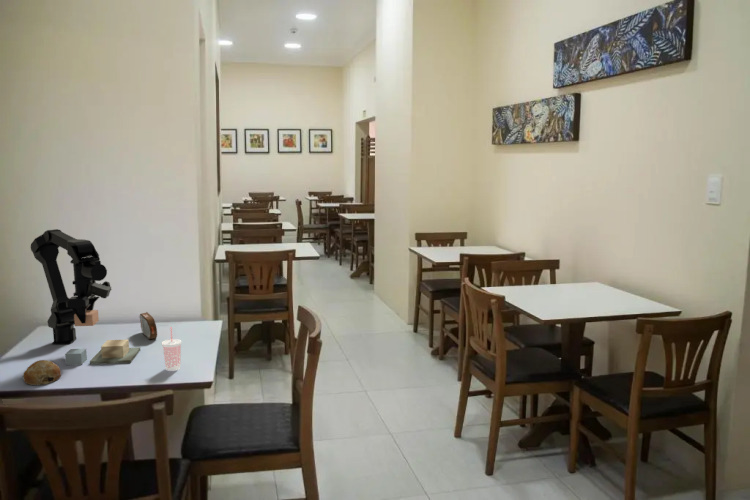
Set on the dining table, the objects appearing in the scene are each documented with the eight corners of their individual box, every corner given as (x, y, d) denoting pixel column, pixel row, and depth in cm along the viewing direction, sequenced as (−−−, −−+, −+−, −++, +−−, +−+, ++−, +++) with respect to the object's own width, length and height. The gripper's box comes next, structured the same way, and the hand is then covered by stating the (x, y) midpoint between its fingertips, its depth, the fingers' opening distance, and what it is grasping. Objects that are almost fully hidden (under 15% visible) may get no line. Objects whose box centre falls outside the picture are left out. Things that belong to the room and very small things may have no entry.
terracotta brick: (74, 326, 213) (74, 315, 212) (81, 321, 219) (80, 310, 218) (93, 325, 214) (92, 314, 213) (98, 320, 219) (97, 310, 219)
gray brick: (65, 365, 203) (65, 354, 203) (71, 360, 208) (70, 349, 208) (81, 365, 204) (80, 353, 203) (87, 359, 209) (86, 348, 208)
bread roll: (32, 398, 186) (37, 378, 183) (14, 378, 190) (18, 358, 187) (64, 387, 194) (68, 368, 191) (46, 368, 198) (50, 349, 195)
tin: (158, 340, 229) (157, 318, 228) (149, 342, 228) (148, 320, 226) (147, 330, 242) (146, 309, 240) (139, 331, 240) (138, 310, 238)
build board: (89, 364, 204) (88, 349, 203) (102, 351, 217) (101, 337, 216) (130, 362, 206) (129, 348, 205) (140, 350, 219) (139, 336, 218)
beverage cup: (175, 363, 206) (174, 323, 203) (186, 367, 202) (184, 326, 199) (159, 368, 201) (157, 327, 198) (170, 373, 197) (167, 331, 195)
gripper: (99, 282, 205) (102, 327, 208) (115, 271, 223) (118, 312, 226) (63, 283, 204) (67, 328, 206) (83, 271, 222) (86, 313, 225)
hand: (86, 320), depth 216 cm, fingers closed on terracotta brick, 6 cm apart
